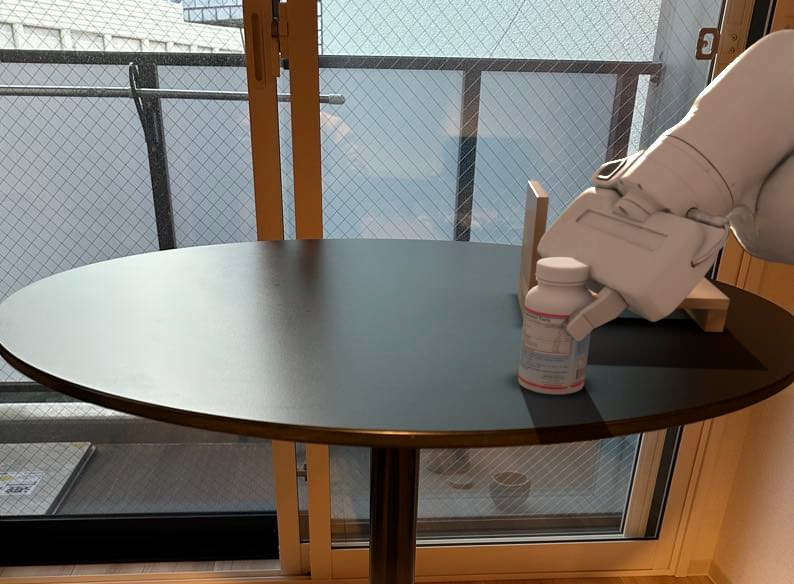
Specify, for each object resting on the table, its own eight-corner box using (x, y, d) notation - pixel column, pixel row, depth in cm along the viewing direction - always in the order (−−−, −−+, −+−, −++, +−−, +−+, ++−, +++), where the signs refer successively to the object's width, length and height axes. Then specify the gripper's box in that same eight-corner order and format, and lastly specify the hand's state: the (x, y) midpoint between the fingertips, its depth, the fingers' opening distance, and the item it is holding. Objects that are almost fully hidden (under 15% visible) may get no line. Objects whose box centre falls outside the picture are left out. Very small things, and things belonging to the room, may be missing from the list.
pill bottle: (557, 372, 79) (571, 252, 73) (596, 392, 74) (615, 266, 68) (504, 381, 76) (515, 258, 71) (541, 402, 72) (556, 272, 66)
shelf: (691, 303, 102) (714, 183, 95) (722, 335, 90) (751, 201, 83) (517, 298, 103) (527, 180, 96) (524, 329, 91) (537, 196, 84)
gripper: (761, 252, 62) (626, 383, 65) (628, 211, 79) (526, 316, 82) (723, 191, 59) (584, 331, 62) (593, 162, 76) (488, 273, 79)
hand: (550, 322), depth 72 cm, fingers closed on pill bottle, 6 cm apart
